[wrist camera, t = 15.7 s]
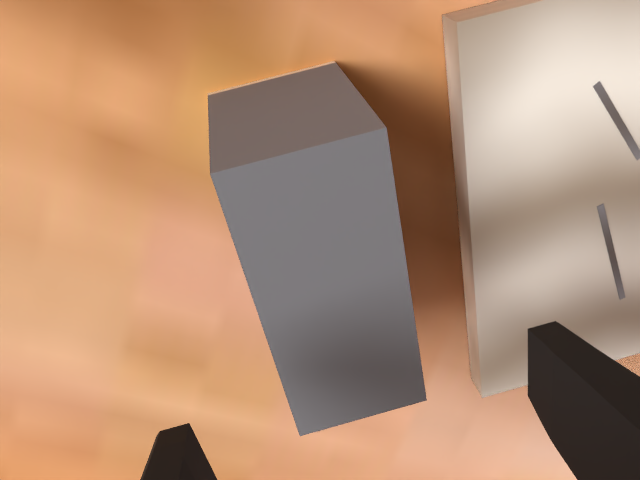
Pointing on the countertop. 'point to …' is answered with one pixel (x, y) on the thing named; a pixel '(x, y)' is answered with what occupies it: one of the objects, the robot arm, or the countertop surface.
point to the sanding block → (319, 241)
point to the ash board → (546, 176)
